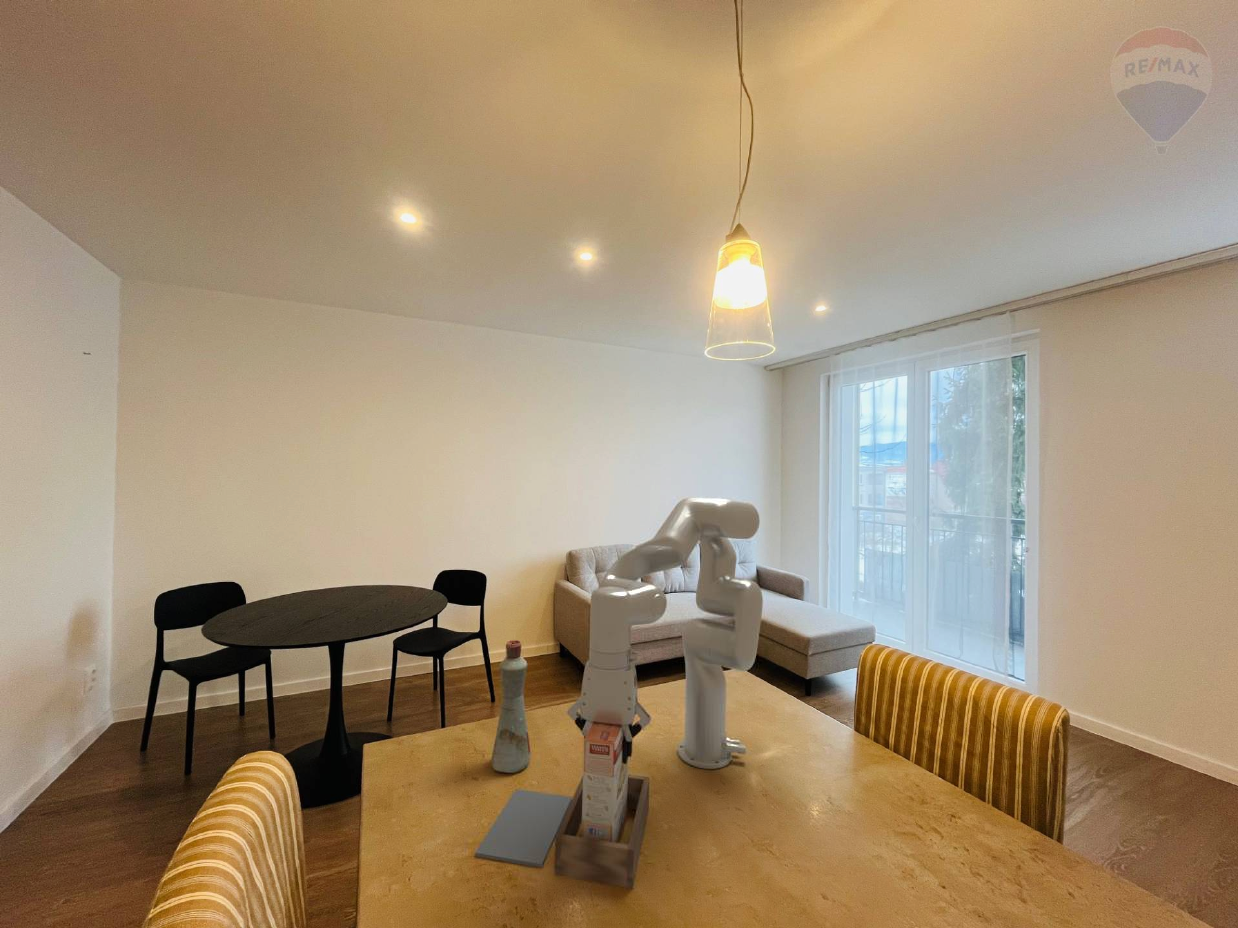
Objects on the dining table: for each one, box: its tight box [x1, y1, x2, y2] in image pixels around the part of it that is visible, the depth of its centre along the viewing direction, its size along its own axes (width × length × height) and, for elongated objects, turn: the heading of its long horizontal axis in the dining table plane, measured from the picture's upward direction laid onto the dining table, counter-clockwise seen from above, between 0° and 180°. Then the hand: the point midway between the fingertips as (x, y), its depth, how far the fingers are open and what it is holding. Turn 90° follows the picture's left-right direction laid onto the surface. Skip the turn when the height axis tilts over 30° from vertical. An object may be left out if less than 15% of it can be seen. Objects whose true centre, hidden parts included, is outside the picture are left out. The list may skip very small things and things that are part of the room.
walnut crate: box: [553, 773, 650, 890], centre depth 91 cm, size 13×20×6 cm, turn 169°
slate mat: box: [474, 788, 573, 869], centre depth 93 cm, size 12×18×1 cm, turn 169°
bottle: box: [490, 639, 531, 774], centre depth 114 cm, size 9×9×28 cm
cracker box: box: [580, 722, 629, 843], centre depth 91 cm, size 14×6×21 cm, turn 168°
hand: (607, 756), depth 91 cm, fingers closed on cracker box, 5 cm apart
